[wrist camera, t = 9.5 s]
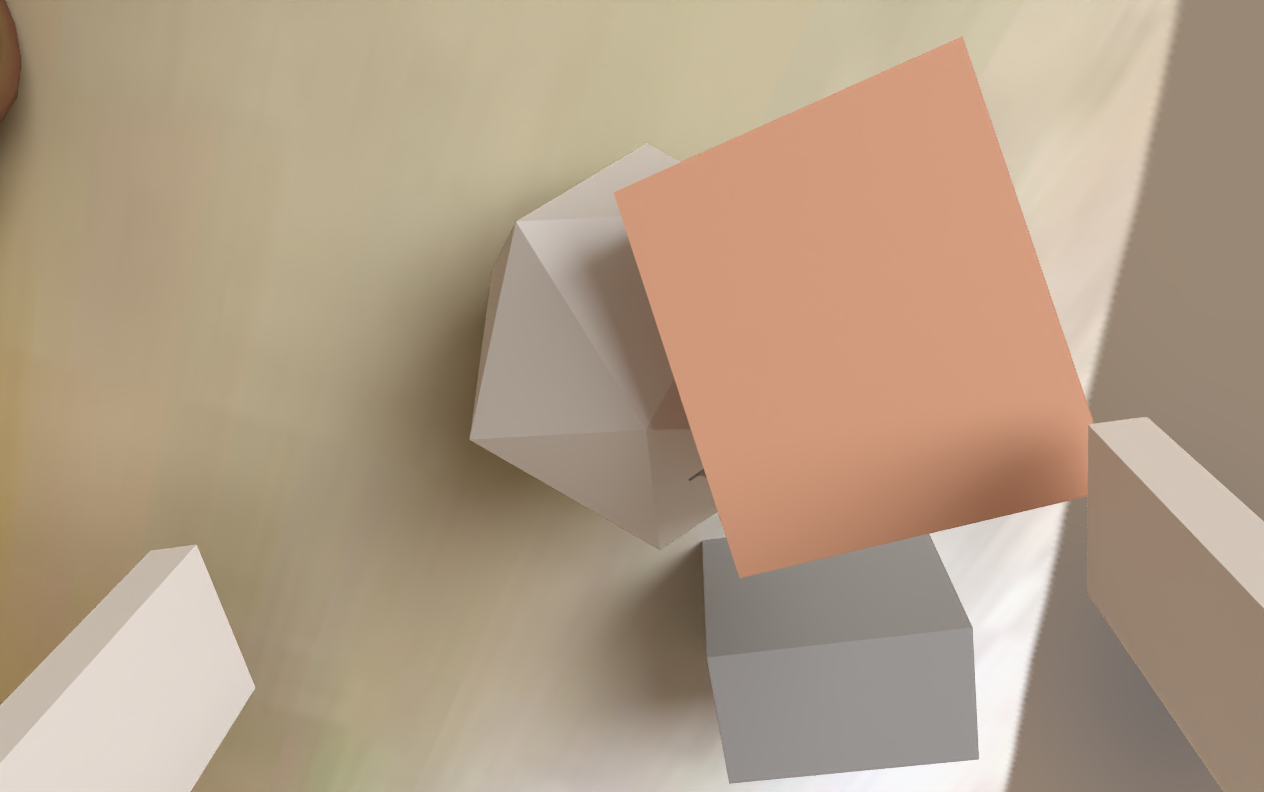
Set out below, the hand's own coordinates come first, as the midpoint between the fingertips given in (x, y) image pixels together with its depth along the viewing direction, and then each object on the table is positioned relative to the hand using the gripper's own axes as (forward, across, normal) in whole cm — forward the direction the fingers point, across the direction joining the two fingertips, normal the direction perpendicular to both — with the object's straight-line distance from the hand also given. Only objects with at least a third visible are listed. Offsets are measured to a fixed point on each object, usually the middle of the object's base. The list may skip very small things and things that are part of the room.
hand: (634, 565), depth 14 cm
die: (+15, 0, 0) cm, 15 cm away
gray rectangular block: (+15, +4, -11) cm, 19 cm away
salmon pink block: (+5, +2, +1) cm, 5 cm away
